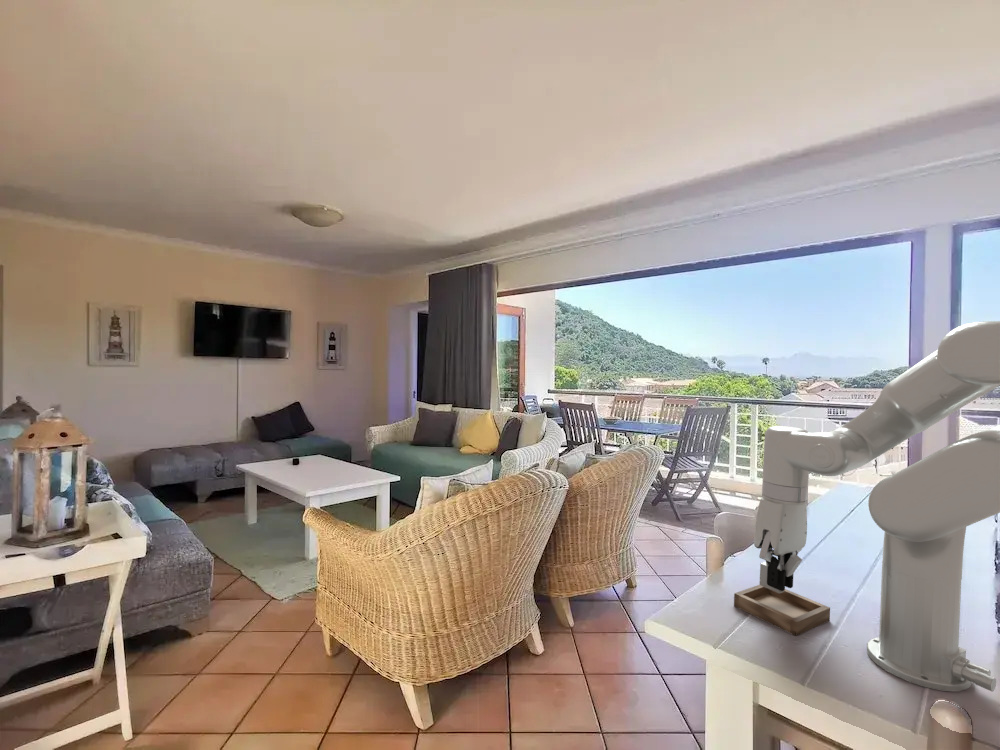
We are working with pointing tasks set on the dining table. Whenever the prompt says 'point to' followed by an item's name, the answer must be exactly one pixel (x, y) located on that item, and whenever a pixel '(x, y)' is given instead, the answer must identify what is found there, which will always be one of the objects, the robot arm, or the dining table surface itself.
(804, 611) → the tray
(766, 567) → the lighter
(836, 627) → the dining table surface
